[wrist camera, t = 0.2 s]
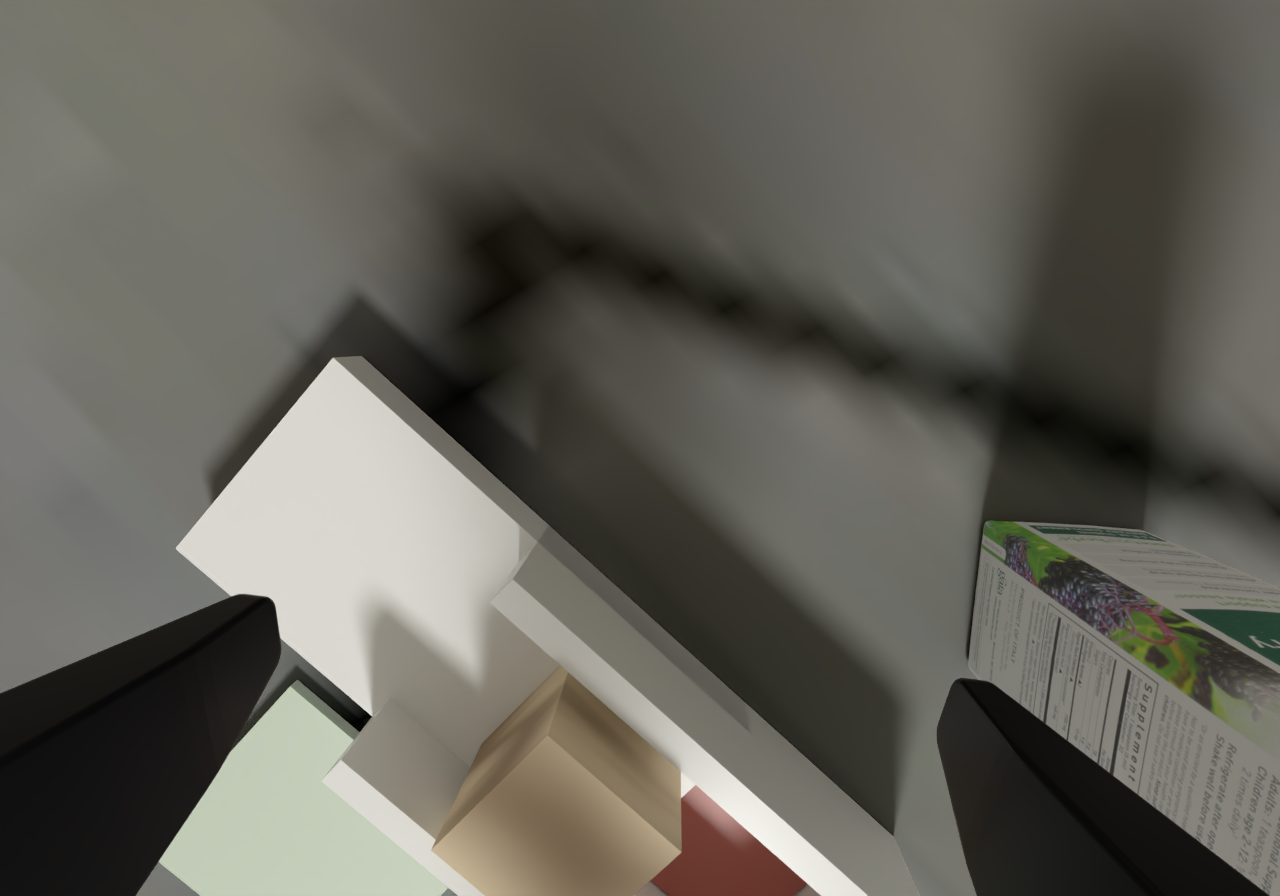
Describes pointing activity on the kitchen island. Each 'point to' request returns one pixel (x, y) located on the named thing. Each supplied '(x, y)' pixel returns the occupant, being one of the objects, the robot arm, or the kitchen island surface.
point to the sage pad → (289, 818)
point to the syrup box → (1144, 671)
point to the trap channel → (500, 646)
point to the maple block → (563, 802)
